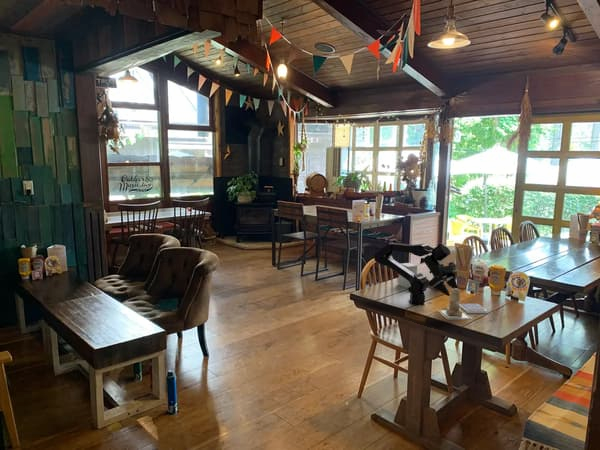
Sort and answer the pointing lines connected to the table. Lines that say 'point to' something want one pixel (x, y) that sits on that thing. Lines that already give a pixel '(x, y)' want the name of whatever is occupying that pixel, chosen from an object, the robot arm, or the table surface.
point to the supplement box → (402, 280)
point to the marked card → (445, 314)
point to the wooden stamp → (454, 303)
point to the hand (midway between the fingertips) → (453, 293)
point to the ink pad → (472, 308)
